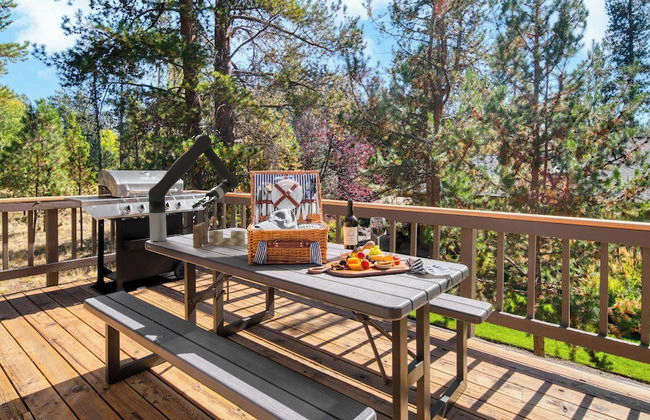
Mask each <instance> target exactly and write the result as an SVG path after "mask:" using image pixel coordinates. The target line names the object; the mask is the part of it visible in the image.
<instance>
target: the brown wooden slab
mask: <svg viewBox="0 0 650 420" xmlns="http://www.w3.org/2000/svg"><path fill="white" fill-rule="evenodd" d="M208 223H209V222H208V221H206V222H205V221H204V222H203V221H202V222H200V223H197V224H194V225H193V226H192V241H193V243H192V245H193V246H192V247H193V249H199V248H202V246H203V245H206V244H209V229H208V228H209V225H208Z"/></svg>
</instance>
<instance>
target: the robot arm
mask: <svg viewBox="0 0 650 420" xmlns="http://www.w3.org/2000/svg"><path fill="white" fill-rule="evenodd" d="M202 155H204V157H206V159H208V161H209V163H210V164H211V167H212V168H213V170H214V171H215V172H216V173H217V175H218V176H219V178H220V179H221V178H222V179H224V180H223V181H222V182H220V184H218V185H217V186H215V187H213V188H212V189H210V190H209V191H207V192H206V193H205V195H204V196H203V197H200V198H198V199H196V200H195V201H194V202H193V204H192V205H191V208H192V210H194V209H197V207H199V206H201V208H203V209H204V208H206V207H207V206H209V205H213V204H214V203H216V202H218V201H219V200H220V199H222V198H223V197H224V195H226V194H228V192H229V190H232V189H235V188H238V187H239V179H238V178H237V177H236V176H235V175H234V174H233V173H232V172H231V171H230V170H229V169H228V167H227V166H226V165H225V163H224V161H223V160H222V159H221V158H220V156H218V154H217V153H216V151H214V149H213V147H212V139H211V136H209V135H207V134H198V135H197V136H196V137H195V139H194V142H193V144H192V146H191V147H190V148H189V149H188V150H186V152H184V153H183V154H181V155H180V156H179V157H178V158H177V159H176V160H175V161H174V162H173V163H171V166H170V167H169V168H168V170H167V171H166V173H165V174H164V176H163V177H162V178H161V179H160V180H159V181H158V182H157V183H156V184H155V185H154V186H152V187H150V189H149V190H148V193H147V194H148V212H149V213H148V214H149V215H148V216H149V241H150V242H153V241H158V242H165V241H167V240H168V239H167V221H166V220H167V218H166V217H167V216H166V215H167V213H166V195H168V193H169V191H170V190H171V188H172V187H173V186H174V185H175V184H176V183H178V182H179V181H180V180H181V179H182V178H183V177H184V176H185V175H186V174H187V173H188V172H189V170H190V169H191V168H192V167H193V165H194V164H195V163H196V162H197V160H198V159H199V158H200V156H202Z"/></svg>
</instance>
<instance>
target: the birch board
mask: <svg viewBox="0 0 650 420" xmlns="http://www.w3.org/2000/svg"><path fill="white" fill-rule="evenodd" d="M245 233H246V231H245V230H231V231H230V237H224V230H208V245H209V246H245V245H246V238H245V237H246V235H245Z"/></svg>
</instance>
